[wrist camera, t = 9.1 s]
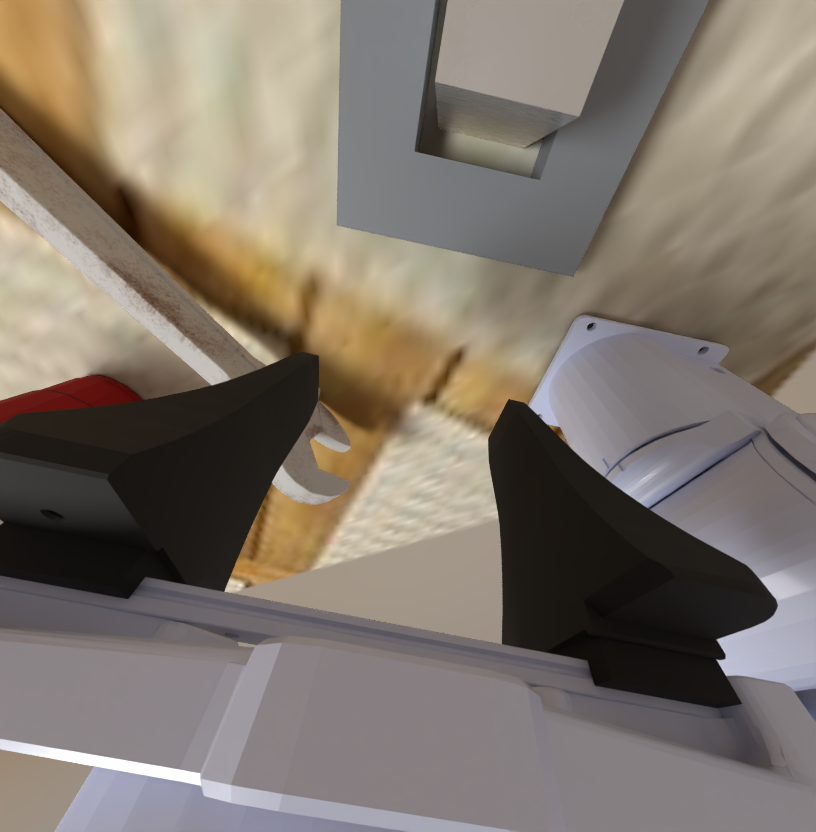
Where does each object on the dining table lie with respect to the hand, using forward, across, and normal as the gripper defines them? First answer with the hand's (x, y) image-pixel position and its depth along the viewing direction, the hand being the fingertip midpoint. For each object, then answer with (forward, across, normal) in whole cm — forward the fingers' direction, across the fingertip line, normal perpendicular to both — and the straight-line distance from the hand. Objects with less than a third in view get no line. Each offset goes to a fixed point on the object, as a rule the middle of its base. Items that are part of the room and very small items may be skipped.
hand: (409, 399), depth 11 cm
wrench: (+10, +14, +2) cm, 18 cm away
